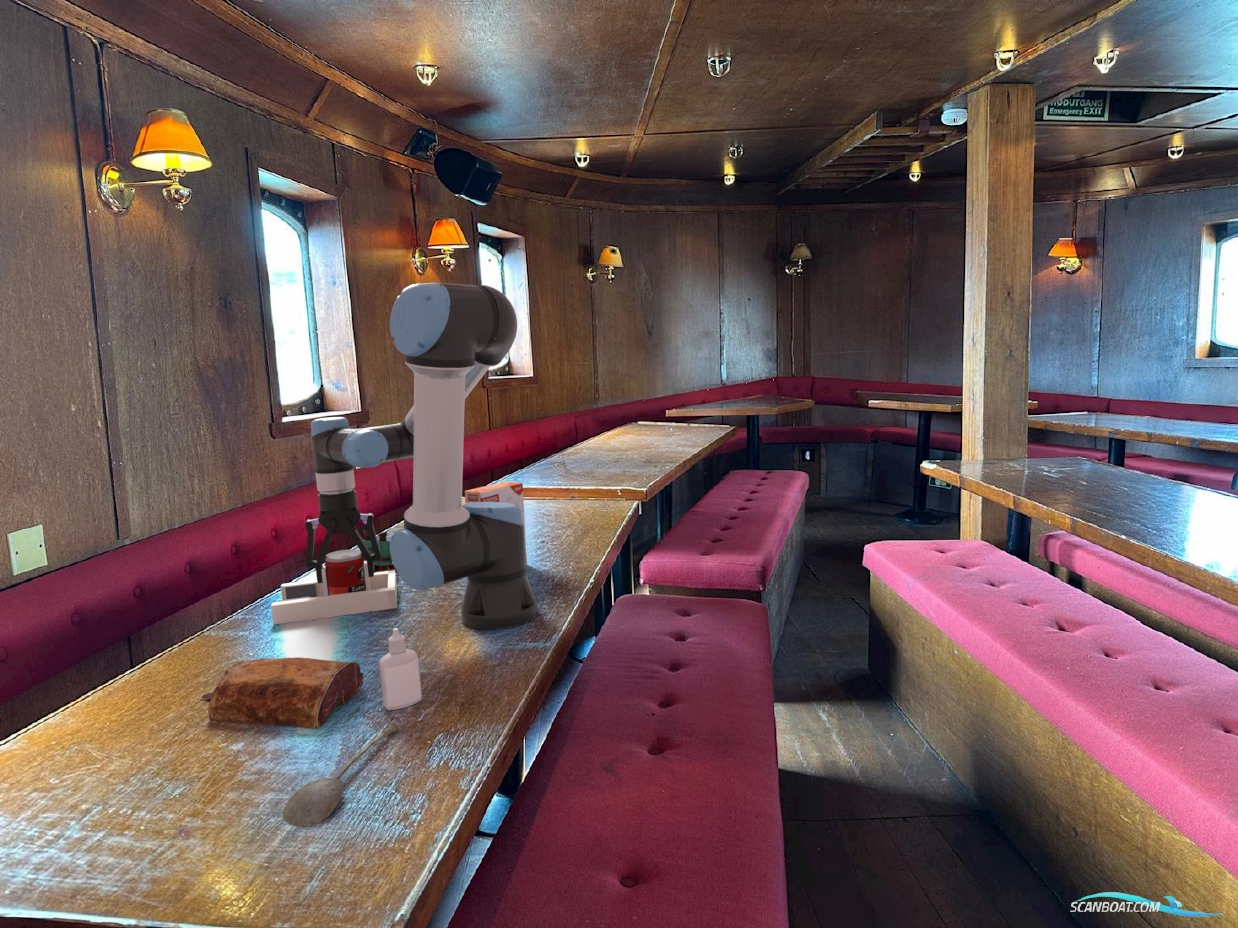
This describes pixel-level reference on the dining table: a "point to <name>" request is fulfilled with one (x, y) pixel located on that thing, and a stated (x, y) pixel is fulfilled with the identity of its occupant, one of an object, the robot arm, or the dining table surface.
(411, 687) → the eye dropper bottle
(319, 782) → the soupspoon
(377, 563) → the binoculars
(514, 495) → the cracker box
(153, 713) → the dining table surface
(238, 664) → the cured meat
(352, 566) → the canned food
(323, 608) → the white rectangular tray
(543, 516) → the dining table surface
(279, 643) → the dining table surface
